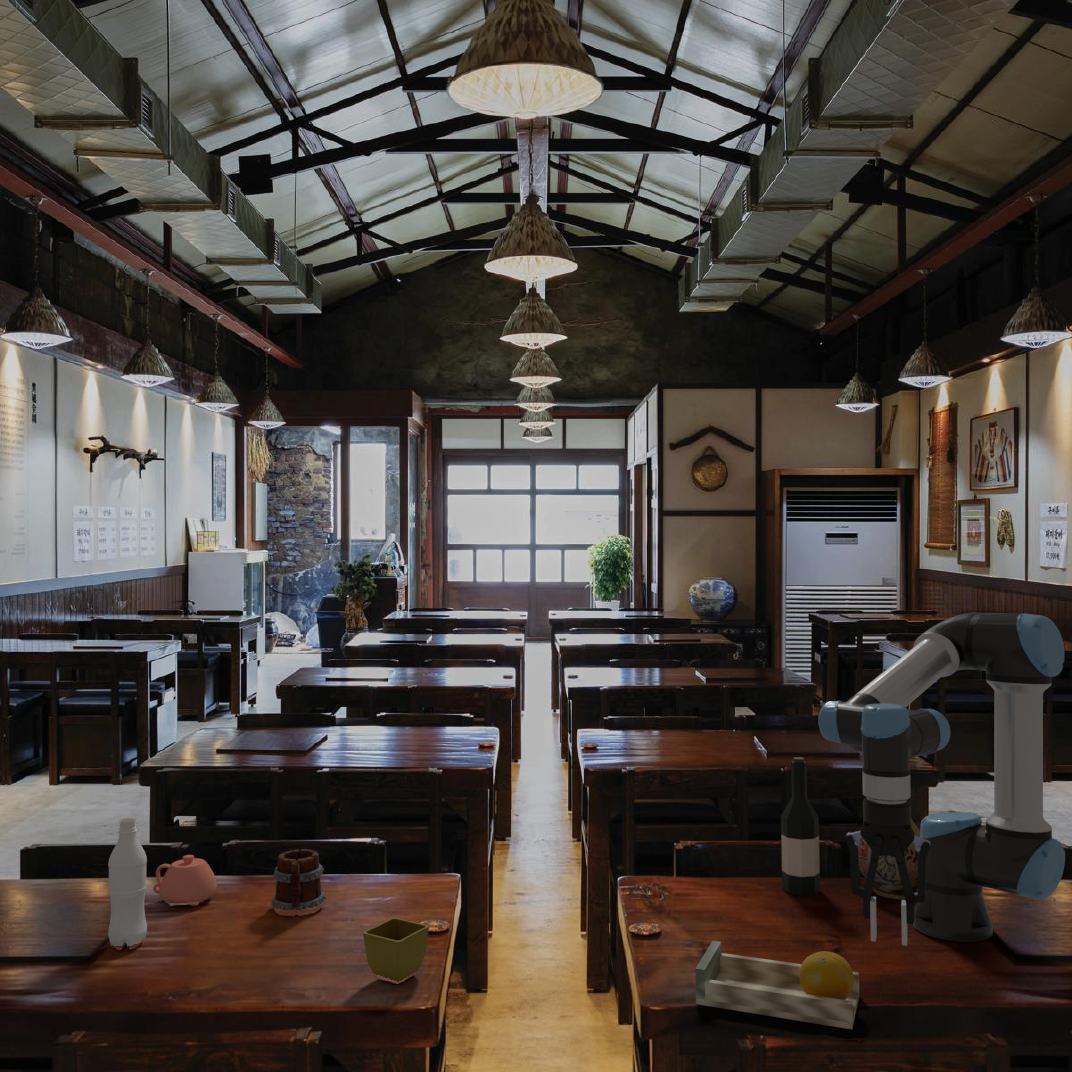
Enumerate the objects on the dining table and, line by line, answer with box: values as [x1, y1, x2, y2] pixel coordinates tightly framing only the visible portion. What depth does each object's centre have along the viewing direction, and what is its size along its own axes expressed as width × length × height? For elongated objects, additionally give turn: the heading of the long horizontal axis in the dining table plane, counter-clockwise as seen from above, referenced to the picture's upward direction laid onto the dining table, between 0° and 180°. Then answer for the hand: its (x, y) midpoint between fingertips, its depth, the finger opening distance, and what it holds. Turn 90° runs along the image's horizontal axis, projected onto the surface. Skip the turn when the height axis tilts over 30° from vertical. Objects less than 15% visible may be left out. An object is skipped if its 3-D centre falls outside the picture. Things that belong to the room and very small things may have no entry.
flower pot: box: [362, 917, 429, 982], centre depth 183 cm, size 9×9×9 cm
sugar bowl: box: [152, 854, 218, 903], centre depth 226 cm, size 12×14×10 cm
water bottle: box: [107, 817, 148, 947], centre depth 200 cm, size 7×7×25 cm
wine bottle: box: [780, 756, 821, 896], centre depth 230 cm, size 8×8×30 cm
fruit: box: [799, 950, 854, 1000], centre depth 170 cm, size 9×8×8 cm
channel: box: [694, 940, 860, 1030], centre depth 173 cm, size 26×13×6 cm, turn 68°
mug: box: [270, 848, 327, 910], centre depth 219 cm, size 12×14×15 cm
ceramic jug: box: [858, 818, 920, 901], centre depth 226 cm, size 17×15×30 cm
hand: (889, 940), depth 166 cm, fingers open, 4 cm apart
